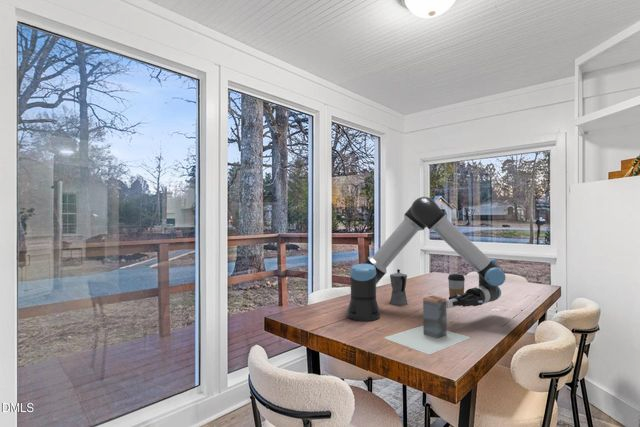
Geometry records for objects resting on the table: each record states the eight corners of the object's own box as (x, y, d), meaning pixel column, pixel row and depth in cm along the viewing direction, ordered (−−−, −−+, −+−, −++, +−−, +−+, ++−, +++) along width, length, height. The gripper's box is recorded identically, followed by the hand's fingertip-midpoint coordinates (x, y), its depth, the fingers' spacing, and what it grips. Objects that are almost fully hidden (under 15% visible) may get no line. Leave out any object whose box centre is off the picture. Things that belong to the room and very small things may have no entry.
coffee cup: (450, 301, 186) (450, 273, 186) (466, 303, 181) (466, 274, 182) (446, 304, 179) (445, 275, 180) (463, 306, 174) (462, 277, 175)
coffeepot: (386, 300, 188) (386, 267, 188) (403, 300, 189) (402, 267, 189) (395, 307, 173) (395, 272, 173) (413, 307, 174) (413, 271, 174)
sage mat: (429, 356, 112) (429, 354, 112) (383, 339, 128) (383, 337, 128) (471, 338, 127) (471, 337, 127) (425, 325, 143) (425, 324, 143)
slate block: (437, 338, 126) (436, 300, 126) (423, 334, 131) (422, 297, 131) (446, 335, 130) (446, 298, 130) (432, 331, 135) (432, 295, 135)
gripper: (492, 307, 144) (461, 317, 130) (463, 302, 154) (432, 310, 140) (491, 289, 144) (461, 298, 130) (462, 285, 154) (431, 292, 140)
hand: (446, 304), depth 135 cm, fingers closed
